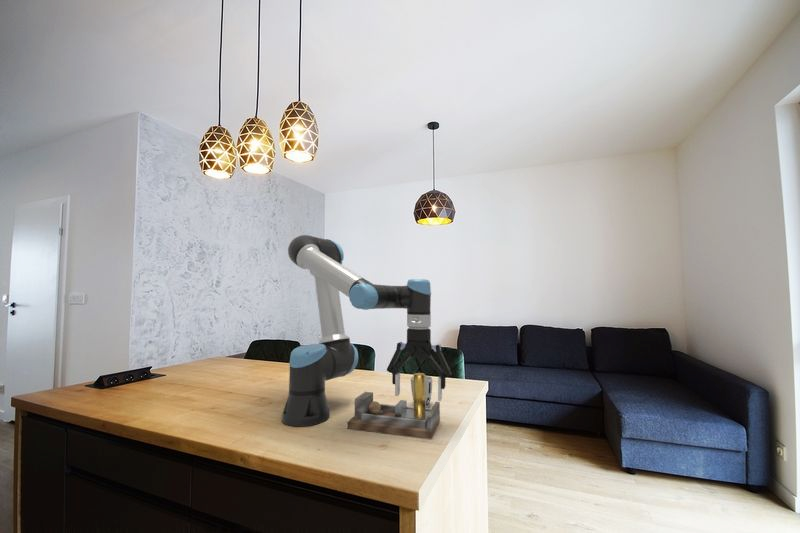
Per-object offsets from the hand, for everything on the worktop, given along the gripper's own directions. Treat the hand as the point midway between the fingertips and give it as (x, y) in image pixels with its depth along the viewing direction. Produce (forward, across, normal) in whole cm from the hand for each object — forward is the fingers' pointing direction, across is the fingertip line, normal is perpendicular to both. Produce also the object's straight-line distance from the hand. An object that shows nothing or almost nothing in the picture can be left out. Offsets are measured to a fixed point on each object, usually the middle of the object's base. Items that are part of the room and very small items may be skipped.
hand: (418, 397), depth 98 cm
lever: (+7, -2, 0) cm, 7 cm away
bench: (+9, -8, 0) cm, 12 cm away
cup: (+9, -4, +20) cm, 22 cm away
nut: (+7, -14, 0) cm, 16 cm away
